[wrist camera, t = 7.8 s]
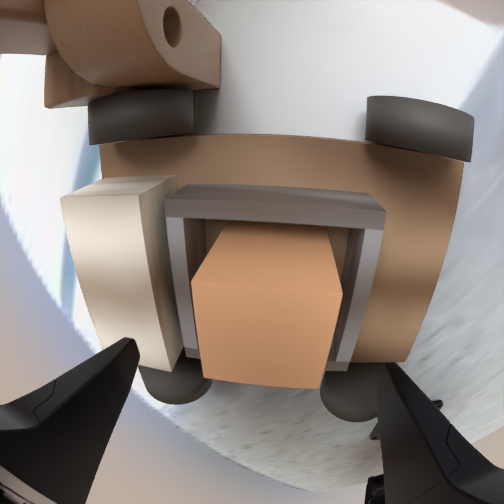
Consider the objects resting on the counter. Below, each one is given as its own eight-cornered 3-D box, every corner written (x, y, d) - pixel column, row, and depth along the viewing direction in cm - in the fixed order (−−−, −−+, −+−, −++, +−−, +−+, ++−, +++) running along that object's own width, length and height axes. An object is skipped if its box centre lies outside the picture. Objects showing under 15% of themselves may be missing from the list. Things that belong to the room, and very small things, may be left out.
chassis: (391, 366, 20) (405, 422, 15) (149, 346, 22) (121, 394, 17) (454, 121, 12) (513, 129, 7) (112, 107, 14) (49, 111, 9)
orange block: (314, 308, 16) (318, 389, 11) (230, 301, 17) (203, 377, 12) (325, 227, 14) (342, 294, 9) (228, 221, 15) (190, 281, 10)
